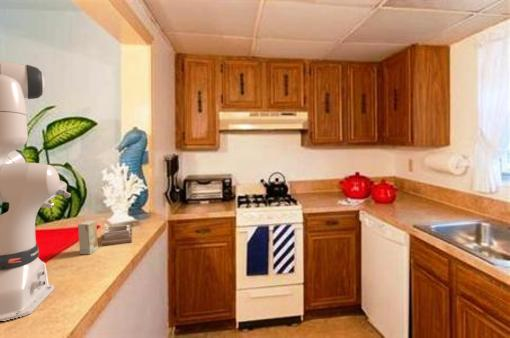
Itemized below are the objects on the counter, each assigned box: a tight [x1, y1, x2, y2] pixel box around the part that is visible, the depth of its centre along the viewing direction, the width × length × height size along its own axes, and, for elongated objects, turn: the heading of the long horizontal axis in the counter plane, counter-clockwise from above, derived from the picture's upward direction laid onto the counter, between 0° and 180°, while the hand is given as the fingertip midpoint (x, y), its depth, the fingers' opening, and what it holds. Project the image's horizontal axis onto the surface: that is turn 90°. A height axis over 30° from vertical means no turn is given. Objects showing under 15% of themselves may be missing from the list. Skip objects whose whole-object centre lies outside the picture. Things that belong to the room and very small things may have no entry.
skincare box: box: [77, 220, 99, 255], centre depth 127 cm, size 6×4×12 cm
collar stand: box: [100, 224, 133, 247], centre depth 143 cm, size 18×12×4 cm, turn 21°
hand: (61, 201), depth 124 cm, fingers open, 8 cm apart
